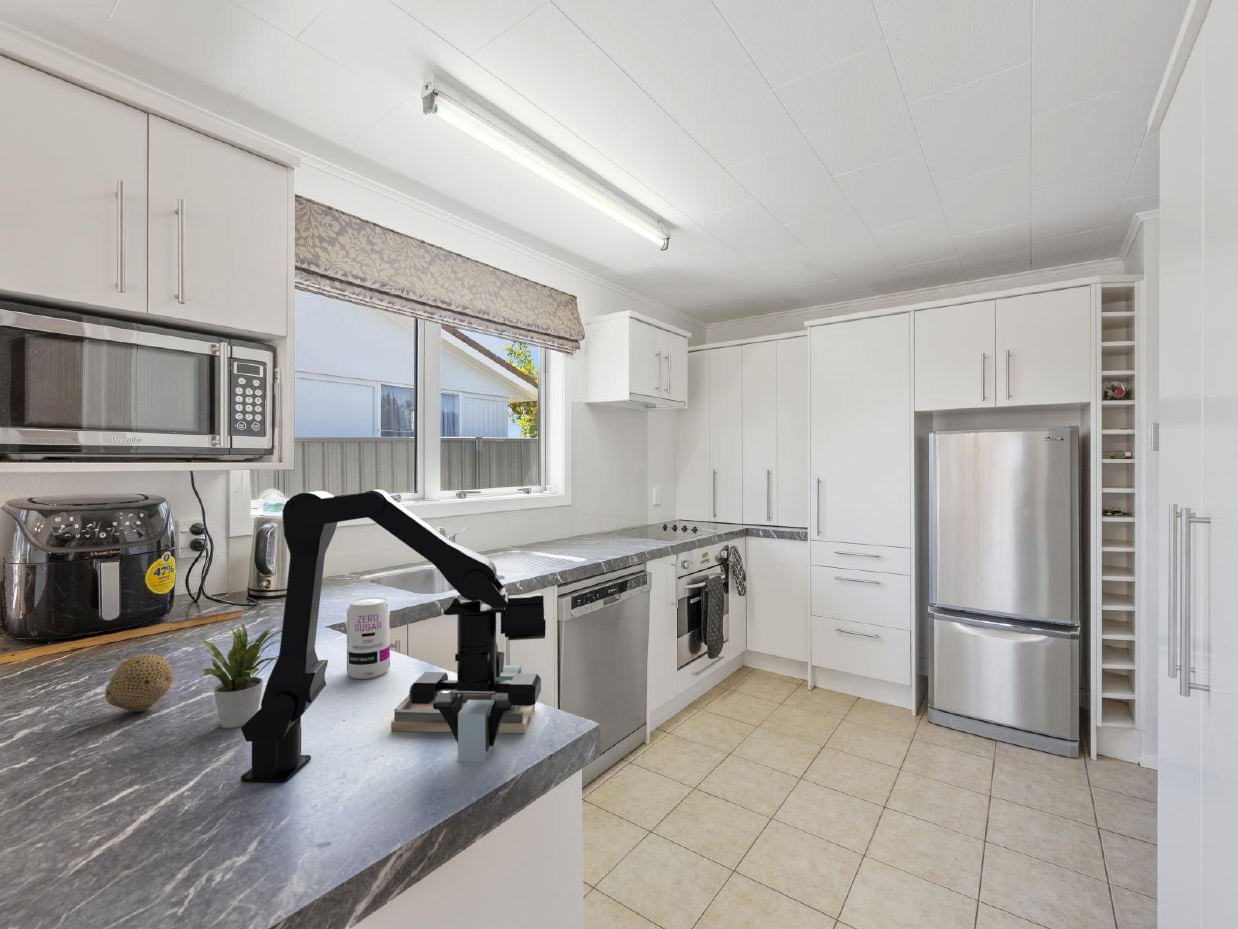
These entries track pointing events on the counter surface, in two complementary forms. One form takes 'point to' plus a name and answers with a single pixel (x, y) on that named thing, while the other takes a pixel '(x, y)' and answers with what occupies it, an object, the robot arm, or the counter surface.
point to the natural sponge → (139, 682)
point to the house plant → (238, 678)
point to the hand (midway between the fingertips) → (476, 744)
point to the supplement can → (368, 638)
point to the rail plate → (433, 721)
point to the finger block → (474, 731)
